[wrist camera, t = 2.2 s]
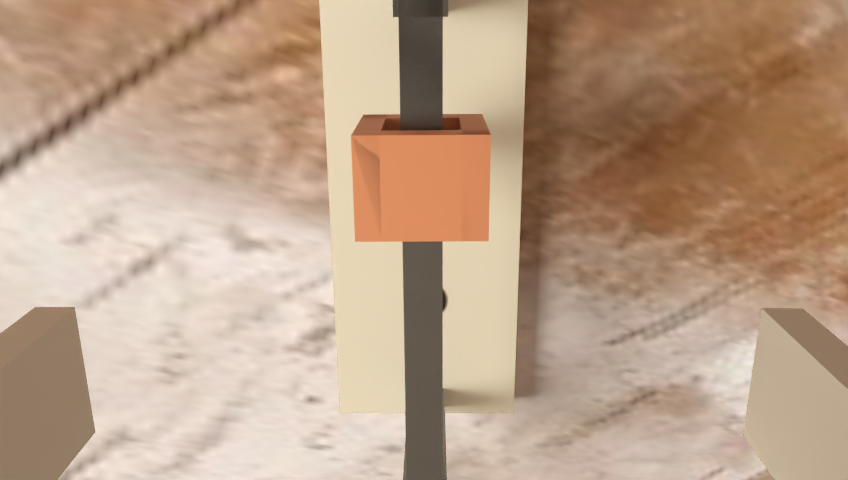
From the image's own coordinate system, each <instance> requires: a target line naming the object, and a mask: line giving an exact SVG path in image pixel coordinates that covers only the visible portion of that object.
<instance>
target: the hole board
mask: <svg viewBox="0 0 848 480" xmlns="http://www.w3.org/2000/svg"><path fill="white" fill-rule="evenodd" d="M319 4H320V24H321V44H322V64H323V84H324V104H325V125H326V145H327V165H328V185H329V205H330V225H331V246H332V266H333V286H334V306H335V326H336V346H337V366H338V387H339V407H340V413H405V357H404V300H403V244H402V242H355V228H354V202H353V176H352V151H351V135H352V133H353V131H354V130H355V128H356V126H357V125H358V123H359V121H360V120H361V118H362V116H363V115H370V114H400V74H399V17H393V0H319ZM527 19H528V0H448V17H443V114H482V115H483V117H484V120H485V122H486V124H487V127H488V129H489V131H490V134H491V155H490V202H489V241H443V388H444V404H445V413H514V391H515V362H516V334H517V305H518V277H519V248H520V219H521V191H522V162H523V134H524V105H525V76H526V48H527Z"/></svg>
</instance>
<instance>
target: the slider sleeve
mask: <svg viewBox="0 0 848 480" xmlns="http://www.w3.org/2000/svg"><path fill="white" fill-rule="evenodd" d="M351 151H352V176H353V202H354V228H355V242H420V241H489V202H490V155H491V134H490V131H489V129H488V127H487V124H486V122H485V120H484V117H483V115H482V114H443V130H400V114H370V115H363V116H362V118H361V120H360V121H359V123H358V125H357V126H356V128H355V130H354V131H353V133H352V135H351Z"/></svg>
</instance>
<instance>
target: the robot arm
mask: <svg viewBox="0 0 848 480" xmlns="http://www.w3.org/2000/svg"><path fill="white" fill-rule="evenodd" d="M94 433H95V428H94V422H93V416H92V410H91V404H90V398H89V392H88V385H87V379H86V373H85V367H84V361H83V355H82V349H81V343H80V337H79V331H78V325H77V319H76V313H75V307H35V308H34V309H32V310H31V311H30V312H28V313H27V314H26V315H24V316H23V317H22V318H20V319H19V320H18V321H16V322H15V323H14V324H12V325H11V326H10V327H9V328H7V329H6V330H5V331H3V332H2V333H1V334H0V480H57V479H58V478H59V477H60V475H61V474H62V473H63V472H64V470H65V469H66V468H67V467H68V465H69V464H70V463H71V462H72V460H73V459H74V458H75V457H76V455H77V454H78V453H79V452H80V450H81V449H82V448H83V447H84V445H85V444H86V443H87V442H88V440H89V439H90V438H91V437H92V435H93V434H94ZM743 436H744V437H745V439H746V440H747V441H748V443H749V444H750V446H751V447H752V448H753V450H754V451H755V453H756V454H757V455H758V457H759V458H760V460H761V461H762V463H763V464H764V465H765V467H766V468H767V470H768V471H769V472H770V474H771V475H772V477H773V478H774V480H848V346H847V345H846V344H844V343H843V342H842V341H841V340H840V339H838V338H837V337H836V336H835V335H834V334H832V333H831V332H830V331H829V330H828V329H826V328H825V327H824V326H823V325H822V324H820V323H819V322H818V321H817V320H816V319H815V318H813V317H812V316H811V315H810V314H809V313H807V312H806V311H805V310H804V309H793V308H762V310H761V317H760V324H759V331H758V337H757V344H756V351H755V358H754V365H753V371H752V378H751V385H750V392H749V399H748V405H747V412H746V419H745V426H744V433H743Z"/></svg>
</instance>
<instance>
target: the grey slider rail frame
mask: <svg viewBox="0 0 848 480" xmlns="http://www.w3.org/2000/svg"><path fill="white" fill-rule="evenodd" d="M393 17H399V74H400V130H443V17H448V0H393ZM402 244H403V300H404V357H405V413H406V442H405V458H404V475H403V480H447V475H446V439H445V404H444V388H443V241H420V242H402Z"/></svg>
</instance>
